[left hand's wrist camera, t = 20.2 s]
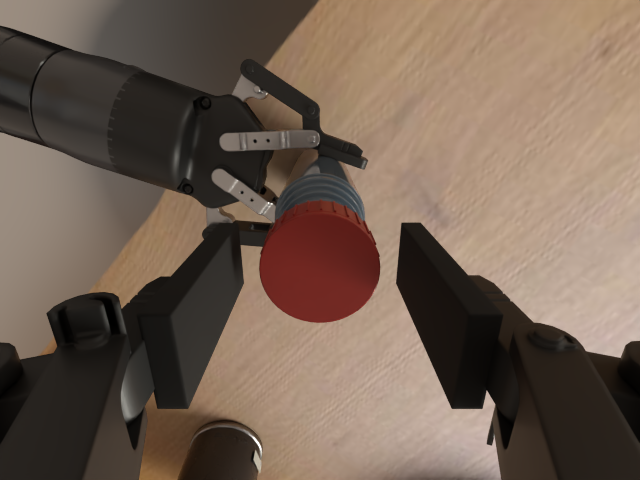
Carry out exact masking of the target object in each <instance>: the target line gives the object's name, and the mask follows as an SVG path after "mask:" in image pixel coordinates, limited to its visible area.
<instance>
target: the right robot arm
mask: <svg viewBox="0 0 640 480" xmlns="http://www.w3.org/2000/svg"><path fill="white" fill-rule="evenodd" d="M241 73H242V74H241V77H240V79H239V81H238V83H237V85H236V87H235V89H234V91H233V93H232V95H223V96H214V95H211V94H208V93H205V92H202V91H199V90H196V89H194V88H191V87H188V86H185V85H182V84H179V83H176V82H174V81H171V80H168V79H165V78H162V77H159V76H157V75H154V74H151V73H148V72H145V71H144V70H142V69H141V68H138V67H136V66H133V65H126V64H123V63H120V62H117V61H114V60H111V59H108V58H104V57H100V56H94V55H89V54H85V53H81V52H78V51H74V50H72V49H69V48H66V47H63V46H60V45H57V44H55V43H52V42H49V41H46V40H43V39H40V38H38V37H35V36H32V35H29V34H26V33H23V32H20V31H17V30H14V29H11V28H8V27H3V26H0V132H2V133H5V134H8V135H11V136H14V137H18V138H21V139H24V140H27V141H30V142H33V143H36V144H40V145H43V146H46V147H49V148H52V149H55V150H58V151H60V152H63V153H65V154H67V155H70V156H72V157H74V158H76V159H78V160H81V161H83V162H85V163H88V164H91V165H94V166H97V167H100V168H103V169H106V170H109V171H113V172H116V173H119V174H122V175H125V176H128V177H132V178H135V179H138V180H141V181H144V182H147V183H150V184H154V185H157V186H160V187H163V188H166V189H169V190H173V191H176V192H179V193H183V194H187V195H190V196H192V197H194V198H195V199H197V200H198V201H199V202H200V203H201V204H202V205H203V206H205V207H206V210H207V227H206V228H205V229H204V231H203V232H202V236H203V238H204V239H205V238H206V237H207V236H208V235H209V234H210V233H211V232H212V230H213V229H214V228H215V227H216V226H217V225H218V224H219V223H238V224H239V235H240V245H248V246H260V247H263V246H264V243H265V242H264V241H265V239H266V237H267V234H268V232H269V230H270V229H272V227H273V225H274V223H275V208H276V204H277V201H278V199H279V198H278V197H277V196H276V195H275V193H274V192H273V191H272V190H271V189H269V188H268V187H267V186H265V185H264V184H265V180H266V177H267V165H268V163H269V161H270V160H271V158H272V155H273V152H274V150H278V149H289V148H312V149H315V150H318V153H317V154H320V155H323V156H326V157H329V158H332V159H334V160H337V161H340V162H343V163H346V164H349V165H352V166H355V167H358V168H361V169H365V167H366V164H367V162H368V160H367V159H366V158H365V157H362V156H361V155H362V153H363V151H362V150H361V149H360V148H359V147H358V146H357V145H356V144H353V143H350V142H347V141H344V140H341V139H339V138H336V137H333V136H330V135H327V134H325V133H324V132H323V131H322V130H321V128H320V115H319V113H320V108H319V106H318V104H317V103H316V102H314V101H313V100H311V99H310V98H308V97H307V96H305V95H304V94H302V93H301V92H299V91H298V90H297V89H295V88H294V87H292V86H291V85H289V84H288V83H286V82H285V81H283V80H282V79H280V78H279V77H277V76H276V75H274V74H273V73H271V72H270V71H268V70H267V69H265V68H264V67H262V66H261V65H259V64H258V63H257V62H255V61H254V60H251V59H247V60H245V61H243V63H242V64H241ZM269 94H271V95H272V96H274V97H275V98H277V99H278V100H280V101H281V102H283V103H284V104H286V105H287V106H289V107H290V108H292V109H293V110H295V111H296V112H298V113H299V114H301V115H302V118H303V129H269V130H266V129H265V128H264V126H263V125H262V124H261V122H260V121H259V119H258V118H257V117H256V115H255V114H254V113H253V111H252V110H251V108H250V107H249V106H248V104H247V103H246V101H247V100H248V99H249V98H252V97H254V98H256V99H260V100H263V99H265V98H267V96H268V95H269ZM252 198H253V199H254V200H252ZM238 201H241V202H242V203H244V204H245V205H246V206H248V207H249V208H251V209H252V210H253V211H255V212H256V213H257V214H259V215H263V216H265V217H266V218H268V219H269V220H270V221H272V223H262V222H250V221H238V220H235V217H234V216H233V215H232V214H230V213H226V212H225V211H223V209H222V206H226V205H229V204H232V203H235V202H238ZM262 451H263V447H262V443H261V440H260V438H259V437H258V436H257V434H256V433H255V432H254V431H252V430H251V429H249V428H248V427H246V426H244V425H242V424H239V423H235V422H229V421H218V422H213V423H209V424H207V425H205V426H203V427H201V428H200V429H199V430H198V431H197V432H196V433H195V434H194V436H193V439H192V441H191V444H190V448H189V451H188V454H187V456H186V459H185V461H184V464H183V466H182V469H181V471H180V474H179V476H178V479H177V480H257V476H258V471H259V473H260V470H261V464H262V463H261V457H262Z"/></svg>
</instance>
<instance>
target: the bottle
mask: <svg viewBox="0 0 640 480" xmlns="http://www.w3.org/2000/svg"><path fill="white" fill-rule="evenodd" d="M317 153H318V150H315V149H312V148H309V149H307V150H306V151H304V152H303V153H302V154H301V155H300V156H299V158H298V159H297V161H296V163H295V165H294V167H293V170H292V172H291V174H290V176H289V178H288V180H287V182H286V184H285V186H284V189H283V191H282V193H281V195H280V197H279V199H278V201H277V204H276V208H275V220H276V219H279V218H280V217H281V216H282V215H283V214H284V211H285V210H286V211H288V210H289V209H291V208H293V207H295V205H296V204H297V205H299V204H302V203H305V202H307V201H308V200H309V202H310V201H320V199H322V201H330V202H333V201H335V203H338V204H340V205H343V206H345V205H346V206H347V208H349V209H350V210H352V211H353V212H354V213H355V212H357V214H358V216H359V217H360V218H361V219H362V221H365V211H364V206H363V202H362V200H361V198H360V196H359V193H358V191H357V189H356V187H355V185H354V183H353V181H352V179H351V176H350V174H349V172H348V170H347V168H346V166H345V164H344V163H343V162H340V161H337V160H334V159H332V158H329V157H326V156H323V155H320V154H317Z"/></svg>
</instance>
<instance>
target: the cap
mask: <svg viewBox="0 0 640 480" xmlns="http://www.w3.org/2000/svg"><path fill="white" fill-rule="evenodd" d="M264 242H265V243H264V246H263V248H262V250H261V253H260V254H261V258H260V266H259V271H260V278H261V282H262V285H263V288H264V290H265V292H266V293H267V295H268V297H269V298H270V299H271V301H272V302H273V303H274V304H275V305H276V306H277V307H278V308H279V309H281V310H282V311H283V312H285V313H287V314H288V315H290V316H292V317H294V318H297V319H300V320H303V321H308V322H316V323H324V322H332V321H336V320H340V319H343V318H345V317H348V316H349V315H351V314H353V313H355V312H356V311H358V310H359V309H360V308H361V307H363V306H364V305H365V304H366V302H367V301H368V300H369V299H370V297H371V296H372V295H373V293H374V291H375V289H376V287H377V284H378V281H379V276H380V260H379V257H380V256H379V253H378V250H377V248H376V246H375V245H376V242H375V240H374V238H373V235H372V233H371V231H369V229H368V227H367V224H366V222H365V221H362V219H361V218H360V217H359V216H358V214H357V212H355V213H354V212H353V211H352V210H350V209H349V208H347V206H346V205H345V206H343V205H340V204H338V203H335V201H333V202H330V201H322V199H320V201H310V202H309V200H308V201H307V202H305V203H302V204H299V205H297V204H296V205H295V207H293V208H291V209H289V210H288V211H286V210H285V211H284V214H283V215H282V216H281V217H280V218H279V219H276V220H275V223H274V225H273V227H272V229H270V230H269V232H268V234H267V237H266V239H265V241H264Z"/></svg>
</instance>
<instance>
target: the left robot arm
mask: <svg viewBox="0 0 640 480" xmlns="http://www.w3.org/2000/svg"><path fill="white" fill-rule="evenodd" d="M243 284H244V279H243V268H242V257H241V246H240V235H239V224H238V223H219V224H218V225H217V226H216V227H215V228H214V229H213V230H212V232H211V233H210V234H209V235H208V236H207V237H206V238H205V239H204V240H203V242H202V243H201V244H200V245H199V246H198V247H197V248H196V249H195V250H194V251H193V253H192V254H191V255H190V256H189V257H188V258H187V259H186V260H185V261H184V263H183V264H182V265H181V266H180V267H179V268H178V269H177V270H176V271H175V272H174V274H173V275H172V276H171V277H159V278H157V279H155V280H154V281H152V282H150V283H148V284H146V285H145V286H144V287H143V288H142V289H141V290H140V291H139V292H138V295H135V296H134V297H133V298H132V299H131V300H130V303H127V304H126V305H125V306H124V307H123V308H122V309H121V305H120V301H119V297H118V296H116V295H115V294H113V293H106V292H99V293H89V294H85V295H80V296H77V297H74V298H71V299H69V300H65V301H64V302H62V303H60V304H58V305H56V306H54V307H53V308H52V309H51V310H50V311H49V312H47V316H48V319H49V322H50V325H51V328H52V331H53V334H54V337H55V340H56V343H57V348H56V350H55V352H54V353H52V354H47V355H42V356H36V357H31V358H26V359H21V360H20V359H19V356H18V353H17V351H16V348H15V347H14V346H13V345H11V344H10V343H0V480H139V475H140V468H141V461H142V455H143V448H144V442H145V435H146V428H147V422H148V420H147V413H146V409H145V405H146V403H147V401H148V399H149V398H150V396H151V394H152V393H153V391H154V395H155V400H156V404H157V409H188V408H189V406H190V403H191V401H192V399H193V397H194V394H195V392H196V390H197V388H198V385H199V383H200V381H201V379H202V376H203V374H204V372H205V370H206V367H207V365H208V363H209V361H210V358H211V356H212V354H213V352H214V349H215V347H216V345H217V343H218V340H219V338H220V336H221V334H222V331H223V329H224V327H225V325H226V322H227V320H228V318H229V316H230V313H231V311H232V309H233V307H234V304H235V302H236V300H237V298H238V295H239V293H240V291H241V289H242V286H243ZM396 284H397V286H398V289H399V291H400V293H401V295H402V298H403V300H404V302H405V304H406V307H407V309H408V311H409V313H410V316H411V318H412V320H413V322H414V325H415V327H416V329H417V331H418V334H419V336H420V338H421V340H422V343H423V345H424V347H425V349H426V352H427V354H428V356H429V358H430V361H431V363H432V365H433V367H434V370H435V372H436V374H437V376H438V379H439V381H440V383H441V385H442V388H443V390H444V392H445V394H446V397H447V399H448V401H449V403H450V406H451V408H452V409H483V404H484V400H485V395H486V391H488V393H489V394H490V396H491V398H492V399H493V401H494V403H495V404H496V405H495V409H494V413H493V417H492V421H491V425H490V429H489V434H488V439H487V444H488V445H492V443H493V439H494V437H495V441H496V447H497V454H498V460H499V467H500V474H501V480H640V341H632V342H630V343H628V344H627V345H626V346H625V348H624V351H623V353H622V356H621V358H618V357H612V356H607V355H602V354H597V353H591V352H587V351H585V349H584V348H583V346H582V345H581V344H580V343H579V341H578V340H577V339H576V338H574V337H573V336H571V335H570V334H568V333H566V332H565V331H562V330H560V329H558V328H555V327H553V326H549V325H545V324H541V323H533V322H532V321H531V320H530V319H529V318H528V317H527V316H526V315H525V314H524V313H523V312H522V311H521V310H520V309H519V308H518V307H517V306H516V305H515V304H514V303H513V302H512V301H510V299H509V298H508V297H507V296H506V295H505V294H503V292H502V291H501V290H500V289H499V288H498V287H497V286H496V285H495V284H494V283H492V282H491V281H489V280H487V279H485V278H483V277H481V276H479V275H467V274H466V272H465V271H464V270H463V269H462V268H461V267H460V266H459V265H458V264H457V263H456V261H455V260H454V259H453V258H452V257H451V256H450V255H449V254H448V253H447V251H446V250H445V249H444V248H443V247H442V246H441V245H440V244H439V243H438V242H437V240H436V239H435V238H434V237H433V236H432V235H431V234H430V233H429V232H428V230H427V229H426V228H425V227H424V226H423V225H422V224H421V223H402V224H401V235H400V246H399V257H398V268H397V279H396Z"/></svg>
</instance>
